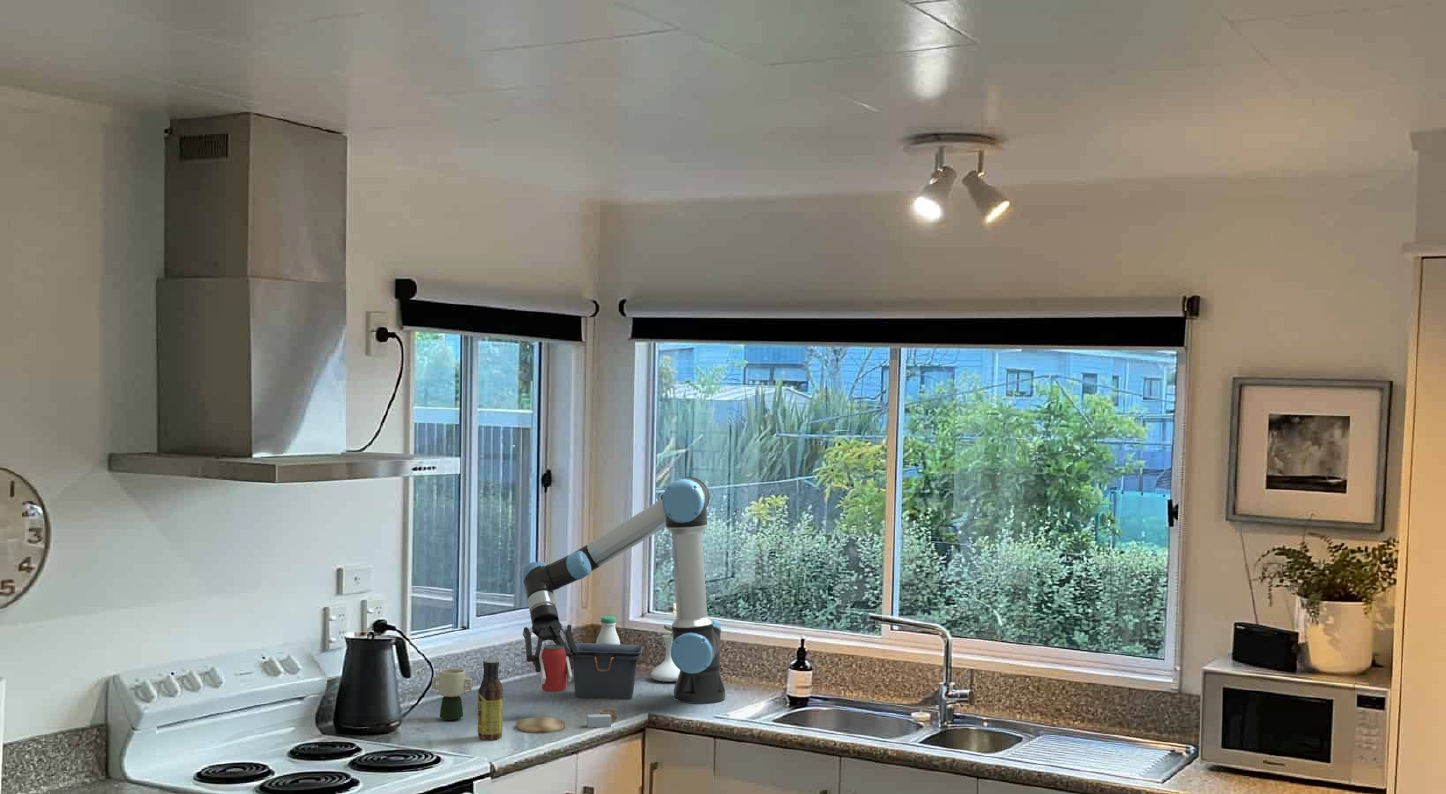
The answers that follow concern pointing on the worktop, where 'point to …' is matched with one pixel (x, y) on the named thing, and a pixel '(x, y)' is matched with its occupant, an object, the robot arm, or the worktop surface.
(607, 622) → the milk bottle
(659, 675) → the flower in vase
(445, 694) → the character mug
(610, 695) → the storage bin
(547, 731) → the trivet
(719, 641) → the robot arm
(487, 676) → the sauce bottle
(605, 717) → the grey-blue block
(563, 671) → the beer can
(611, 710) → the walnut block
